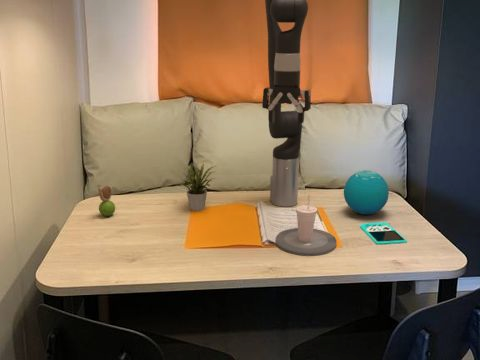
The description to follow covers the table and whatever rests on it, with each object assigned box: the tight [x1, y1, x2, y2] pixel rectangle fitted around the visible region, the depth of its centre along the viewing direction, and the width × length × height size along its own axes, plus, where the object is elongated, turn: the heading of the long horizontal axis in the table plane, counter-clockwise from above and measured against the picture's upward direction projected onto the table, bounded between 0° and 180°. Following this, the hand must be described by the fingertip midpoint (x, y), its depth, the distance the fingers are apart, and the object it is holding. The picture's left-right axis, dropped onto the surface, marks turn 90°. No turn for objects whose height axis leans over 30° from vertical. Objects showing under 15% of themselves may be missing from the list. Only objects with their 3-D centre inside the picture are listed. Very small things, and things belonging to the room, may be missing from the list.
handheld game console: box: [359, 221, 408, 246], centre depth 173 cm, size 10×16×1 cm, turn 9°
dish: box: [275, 227, 337, 257], centre depth 166 cm, size 18×18×1 cm
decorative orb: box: [343, 169, 390, 215], centre depth 188 cm, size 15×15×15 cm
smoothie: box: [295, 194, 318, 242], centre depth 163 cm, size 6×6×14 cm
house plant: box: [177, 162, 217, 212], centre depth 192 cm, size 14×14×16 cm
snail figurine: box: [96, 184, 116, 217], centre depth 185 cm, size 5×6×12 cm
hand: (285, 123), depth 166 cm, fingers open, 8 cm apart
